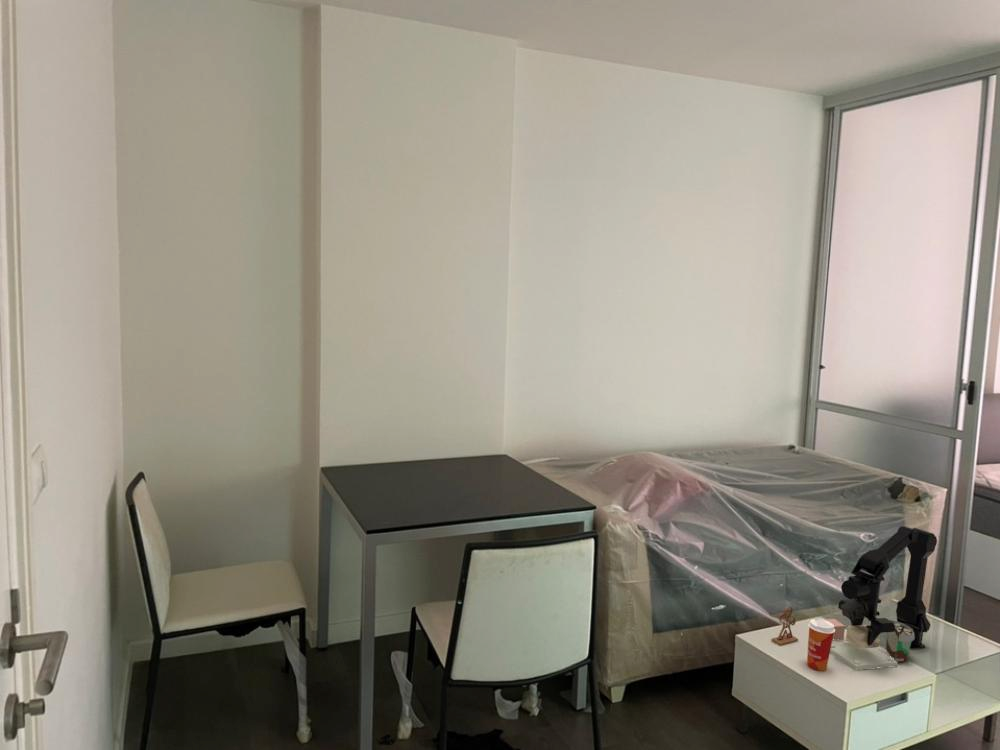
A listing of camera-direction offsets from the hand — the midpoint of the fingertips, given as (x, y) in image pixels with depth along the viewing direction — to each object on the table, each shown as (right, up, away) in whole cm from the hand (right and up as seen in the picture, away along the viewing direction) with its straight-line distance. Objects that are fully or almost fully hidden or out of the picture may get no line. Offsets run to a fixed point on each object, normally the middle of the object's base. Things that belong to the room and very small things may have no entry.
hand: (862, 640), depth 246 cm
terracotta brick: (-5, -4, +15) cm, 16 cm away
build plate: (0, -6, +1) cm, 6 cm away
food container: (+13, -7, +3) cm, 15 cm away
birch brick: (0, -1, 0) cm, 1 cm away
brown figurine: (-22, -3, +9) cm, 24 cm away
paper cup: (-18, -6, -8) cm, 20 cm away
